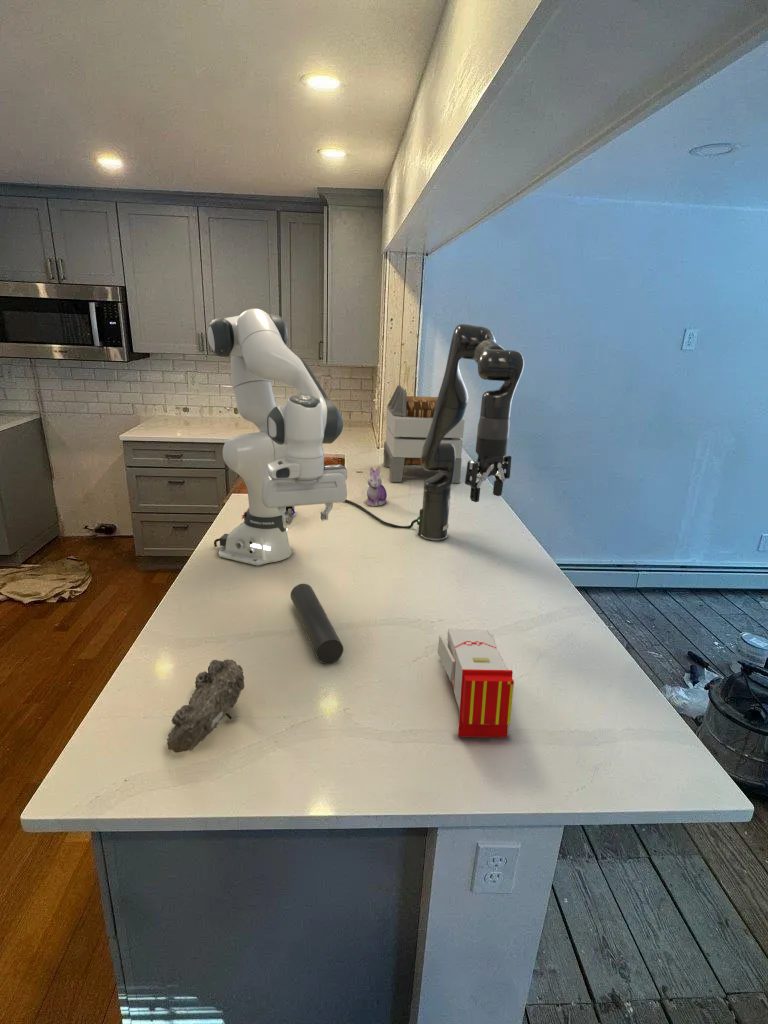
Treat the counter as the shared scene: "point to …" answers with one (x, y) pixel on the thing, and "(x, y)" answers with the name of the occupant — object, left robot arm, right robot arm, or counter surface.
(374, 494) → the figurine
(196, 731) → the fossil
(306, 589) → the rod
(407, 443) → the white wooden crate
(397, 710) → the counter surface
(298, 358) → the left robot arm
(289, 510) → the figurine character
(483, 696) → the toy
